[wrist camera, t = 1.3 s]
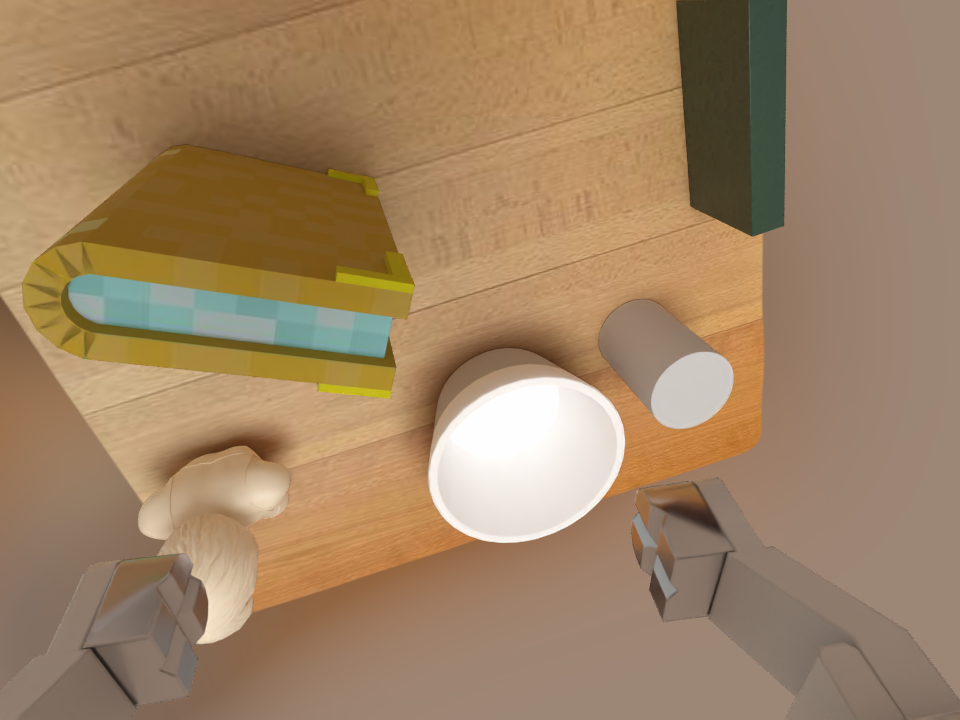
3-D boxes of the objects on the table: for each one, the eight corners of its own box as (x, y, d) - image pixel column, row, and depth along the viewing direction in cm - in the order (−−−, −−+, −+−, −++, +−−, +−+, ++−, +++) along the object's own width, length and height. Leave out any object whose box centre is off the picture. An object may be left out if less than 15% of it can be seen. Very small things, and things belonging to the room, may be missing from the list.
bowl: (609, 419, 71) (653, 477, 62) (467, 503, 72) (489, 573, 63) (539, 290, 61) (579, 337, 52) (376, 389, 62) (386, 453, 53)
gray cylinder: (596, 372, 67) (646, 434, 57) (601, 304, 63) (656, 358, 53) (664, 362, 69) (725, 421, 58) (673, 295, 65) (740, 346, 55)
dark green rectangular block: (676, 1, 51) (748, -4, 43) (709, -9, 51) (787, -16, 43) (690, 206, 60) (752, 237, 52) (718, 197, 61) (784, 225, 52)
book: (374, 178, 52) (414, 284, 31) (360, 253, 55) (389, 398, 34) (153, 130, 47) (18, 220, 26) (151, 216, 50) (27, 362, 28)
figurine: (184, 517, 64) (135, 698, 47) (143, 448, 59) (73, 621, 42) (312, 480, 65) (310, 642, 48) (282, 410, 61) (269, 562, 44)
